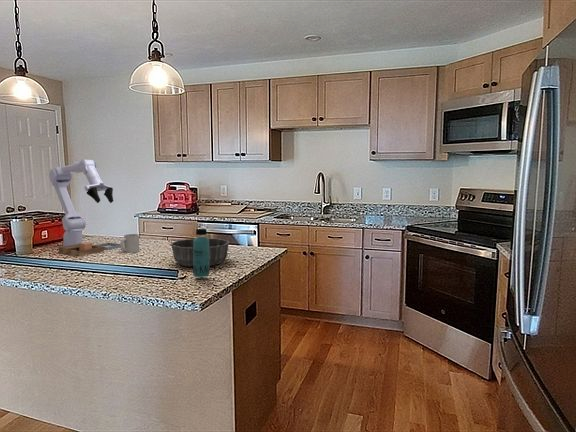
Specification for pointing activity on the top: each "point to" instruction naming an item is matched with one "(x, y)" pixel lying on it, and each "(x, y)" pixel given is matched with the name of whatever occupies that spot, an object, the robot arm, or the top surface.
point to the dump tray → (113, 245)
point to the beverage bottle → (201, 254)
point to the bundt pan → (185, 251)
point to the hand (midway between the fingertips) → (105, 201)
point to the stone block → (85, 246)
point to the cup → (130, 243)
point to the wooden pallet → (80, 253)
